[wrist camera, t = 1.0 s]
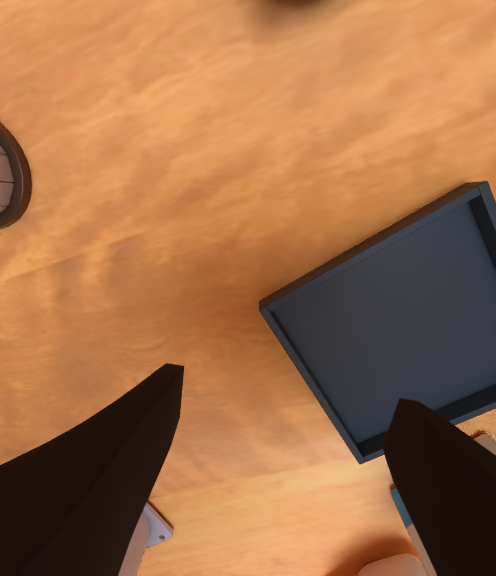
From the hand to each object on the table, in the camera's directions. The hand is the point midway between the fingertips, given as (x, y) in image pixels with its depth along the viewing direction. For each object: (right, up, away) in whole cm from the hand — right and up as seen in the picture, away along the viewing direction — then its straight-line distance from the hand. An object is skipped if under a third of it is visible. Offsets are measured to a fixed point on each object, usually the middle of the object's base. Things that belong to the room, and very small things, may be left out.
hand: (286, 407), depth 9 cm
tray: (+9, +1, +9) cm, 13 cm away
